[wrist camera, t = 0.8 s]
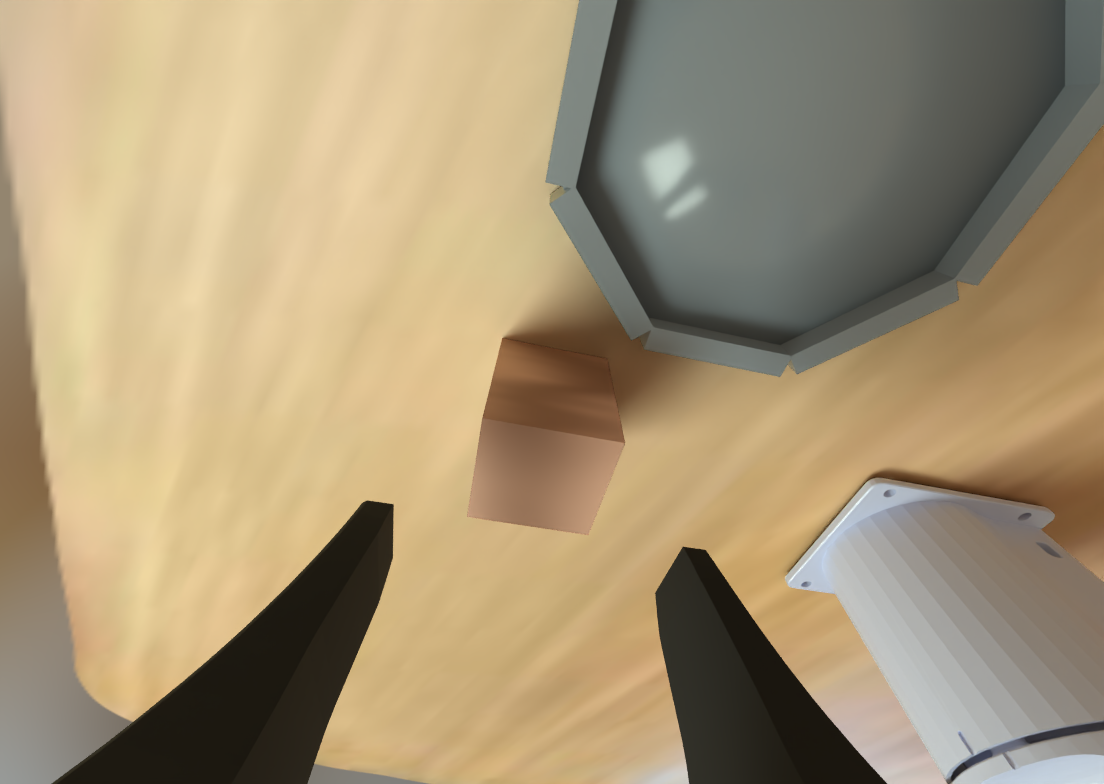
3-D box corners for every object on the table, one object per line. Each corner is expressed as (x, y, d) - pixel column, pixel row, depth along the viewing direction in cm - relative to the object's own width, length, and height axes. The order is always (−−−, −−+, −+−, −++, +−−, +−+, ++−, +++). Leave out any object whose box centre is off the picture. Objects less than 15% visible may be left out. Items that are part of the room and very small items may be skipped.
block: (606, 358, 16) (625, 443, 12) (580, 438, 18) (588, 535, 14) (502, 337, 16) (482, 418, 11) (488, 422, 18) (467, 516, 13)
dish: (1212, -131, 9) (1340, -180, 8) (857, 372, 16) (889, 398, 15) (644, -351, 8) (665, -464, 6) (522, 303, 15) (519, 324, 13)
